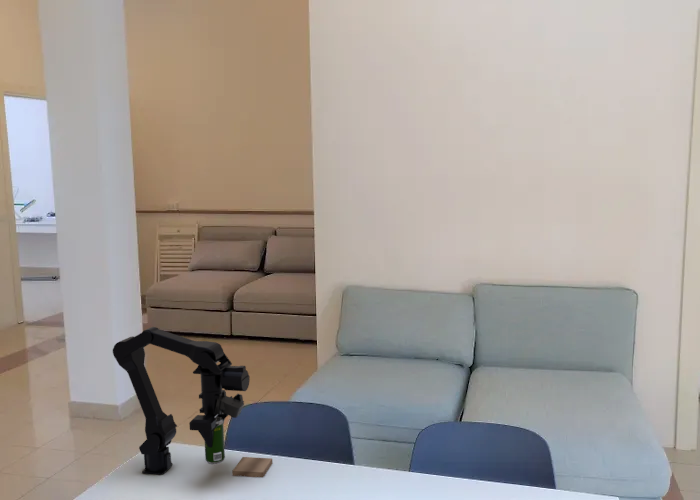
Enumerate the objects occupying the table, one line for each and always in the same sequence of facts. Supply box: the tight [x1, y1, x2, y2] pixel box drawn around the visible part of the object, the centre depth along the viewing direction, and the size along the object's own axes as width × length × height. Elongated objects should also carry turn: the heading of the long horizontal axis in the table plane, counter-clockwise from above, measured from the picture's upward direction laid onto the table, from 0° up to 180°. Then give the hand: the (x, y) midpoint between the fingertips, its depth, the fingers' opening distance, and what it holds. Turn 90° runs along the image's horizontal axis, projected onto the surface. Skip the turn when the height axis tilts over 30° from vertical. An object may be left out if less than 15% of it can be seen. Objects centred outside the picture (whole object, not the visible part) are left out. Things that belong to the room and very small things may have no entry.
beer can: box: [204, 416, 226, 465], centre depth 180 cm, size 5×5×12 cm
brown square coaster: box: [231, 456, 273, 478], centre depth 184 cm, size 9×9×2 cm
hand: (214, 442), depth 180 cm, fingers closed on beer can, 5 cm apart
